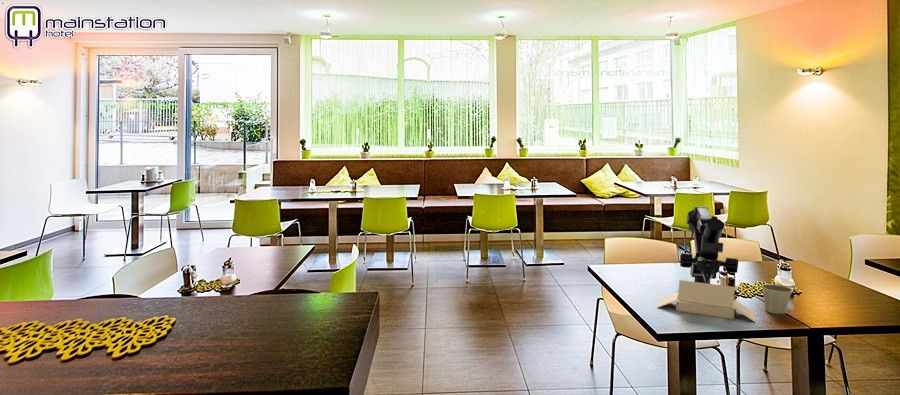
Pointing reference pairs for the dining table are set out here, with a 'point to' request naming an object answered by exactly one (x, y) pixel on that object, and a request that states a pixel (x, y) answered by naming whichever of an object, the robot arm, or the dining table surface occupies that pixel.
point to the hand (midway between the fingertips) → (706, 282)
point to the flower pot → (776, 298)
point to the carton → (707, 308)
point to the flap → (706, 293)
